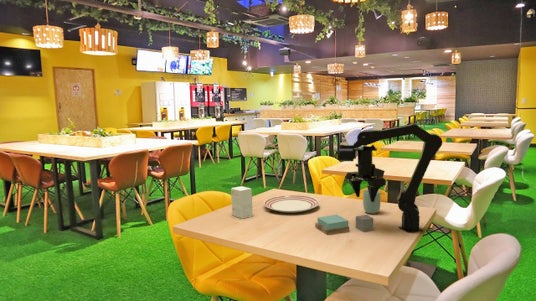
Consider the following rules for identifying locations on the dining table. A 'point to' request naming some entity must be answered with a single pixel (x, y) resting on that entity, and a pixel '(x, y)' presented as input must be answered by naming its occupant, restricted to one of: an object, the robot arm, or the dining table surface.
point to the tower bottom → (333, 231)
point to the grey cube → (364, 223)
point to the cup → (371, 206)
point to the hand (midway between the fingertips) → (365, 199)
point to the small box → (241, 202)
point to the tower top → (332, 222)
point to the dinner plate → (291, 203)
